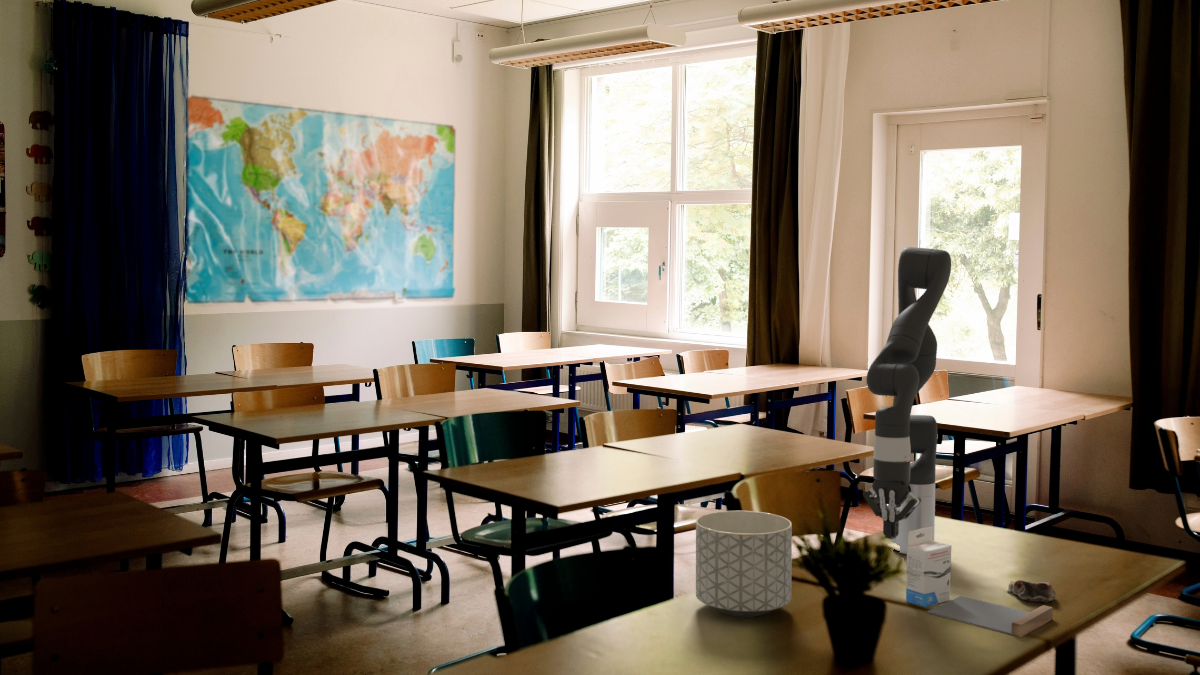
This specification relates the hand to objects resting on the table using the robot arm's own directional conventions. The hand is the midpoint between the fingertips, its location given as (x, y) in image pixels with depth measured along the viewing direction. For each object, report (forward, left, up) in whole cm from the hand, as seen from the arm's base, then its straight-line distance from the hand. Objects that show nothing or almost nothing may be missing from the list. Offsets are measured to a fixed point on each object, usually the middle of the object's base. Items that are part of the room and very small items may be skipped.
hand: (890, 537), depth 214 cm
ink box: (+9, 0, -12) cm, 15 cm away
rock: (+22, +17, -12) cm, 31 cm away
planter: (-14, -32, -12) cm, 37 cm away
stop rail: (+30, 0, -12) cm, 32 cm away
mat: (+21, 0, -12) cm, 24 cm away
